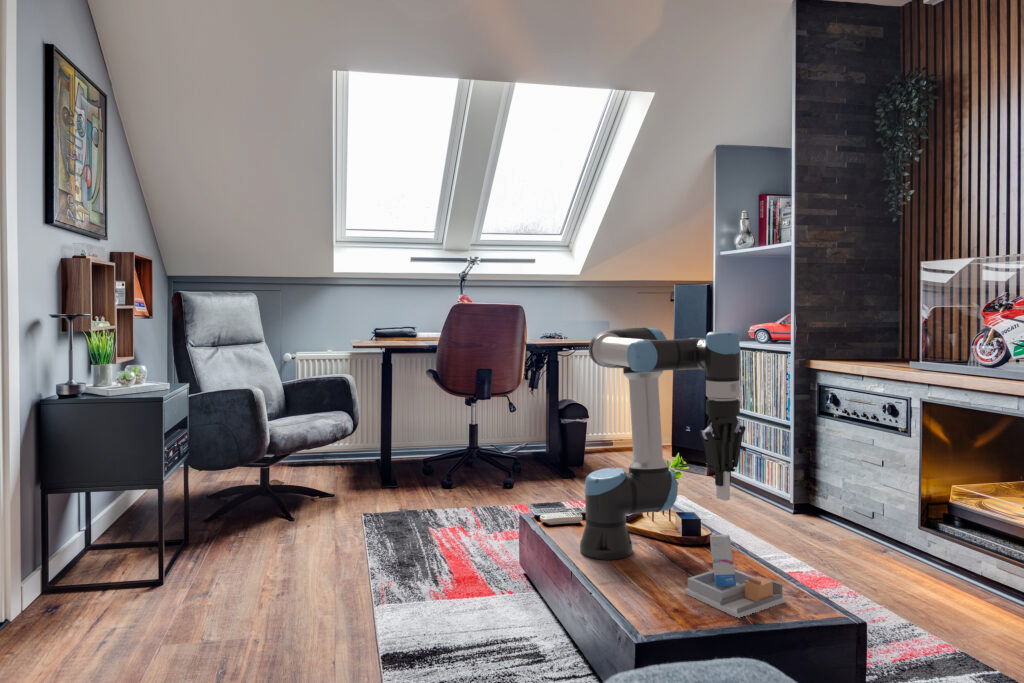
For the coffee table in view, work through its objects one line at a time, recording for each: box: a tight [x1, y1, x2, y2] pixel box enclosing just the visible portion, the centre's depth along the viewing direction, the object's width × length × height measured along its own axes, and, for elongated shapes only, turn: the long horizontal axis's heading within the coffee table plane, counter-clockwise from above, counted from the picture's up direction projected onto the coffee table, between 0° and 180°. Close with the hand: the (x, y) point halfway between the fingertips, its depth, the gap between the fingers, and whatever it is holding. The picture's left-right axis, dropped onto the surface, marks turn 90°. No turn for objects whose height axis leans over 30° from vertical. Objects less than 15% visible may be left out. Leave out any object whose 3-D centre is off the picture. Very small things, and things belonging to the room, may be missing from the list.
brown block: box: [745, 575, 774, 602], centre depth 172 cm, size 4×5×5 cm
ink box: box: [709, 534, 736, 587], centre depth 179 cm, size 9×5×12 cm, turn 166°
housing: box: [684, 568, 786, 619], centre depth 175 cm, size 17×16×4 cm
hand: (723, 498), depth 168 cm, fingers closed
